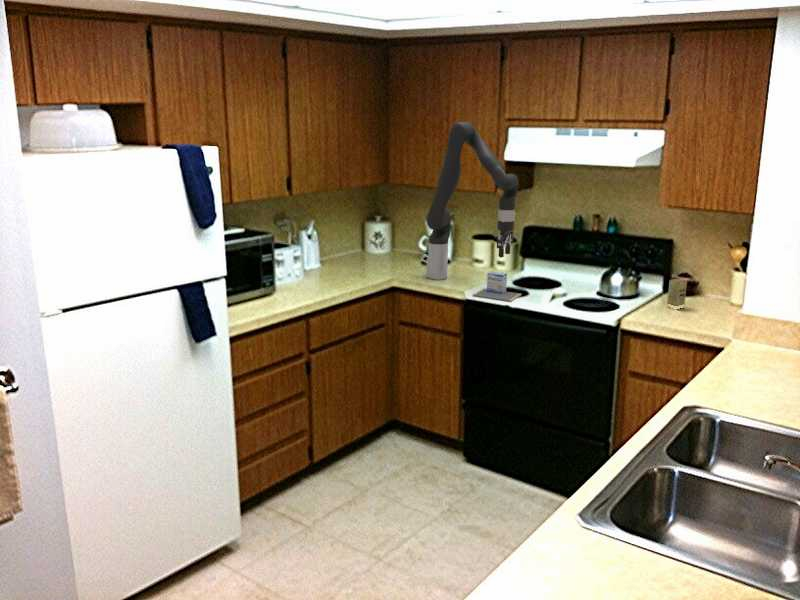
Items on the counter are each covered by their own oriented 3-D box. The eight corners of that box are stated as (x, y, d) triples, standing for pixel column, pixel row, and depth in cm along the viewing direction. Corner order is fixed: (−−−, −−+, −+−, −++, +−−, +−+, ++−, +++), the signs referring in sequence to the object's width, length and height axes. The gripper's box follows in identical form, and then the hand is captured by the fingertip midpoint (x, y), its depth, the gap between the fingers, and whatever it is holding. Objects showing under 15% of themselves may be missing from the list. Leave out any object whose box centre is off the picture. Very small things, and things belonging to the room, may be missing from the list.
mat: (472, 296, 334) (472, 294, 334) (484, 289, 345) (484, 288, 345) (510, 302, 325) (510, 300, 325) (521, 295, 336) (521, 293, 336)
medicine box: (486, 291, 339) (487, 272, 337) (489, 289, 343) (490, 270, 341) (502, 293, 336) (503, 275, 333) (506, 291, 339) (507, 272, 337)
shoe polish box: (666, 307, 320) (669, 279, 317) (674, 305, 323) (677, 278, 320) (676, 310, 317) (679, 282, 313) (683, 308, 319) (687, 280, 316)
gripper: (504, 216, 345) (502, 251, 349) (491, 220, 333) (490, 257, 337) (519, 217, 341) (517, 253, 346) (507, 222, 329) (505, 259, 334)
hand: (504, 255), depth 341 cm, fingers open, 7 cm apart
